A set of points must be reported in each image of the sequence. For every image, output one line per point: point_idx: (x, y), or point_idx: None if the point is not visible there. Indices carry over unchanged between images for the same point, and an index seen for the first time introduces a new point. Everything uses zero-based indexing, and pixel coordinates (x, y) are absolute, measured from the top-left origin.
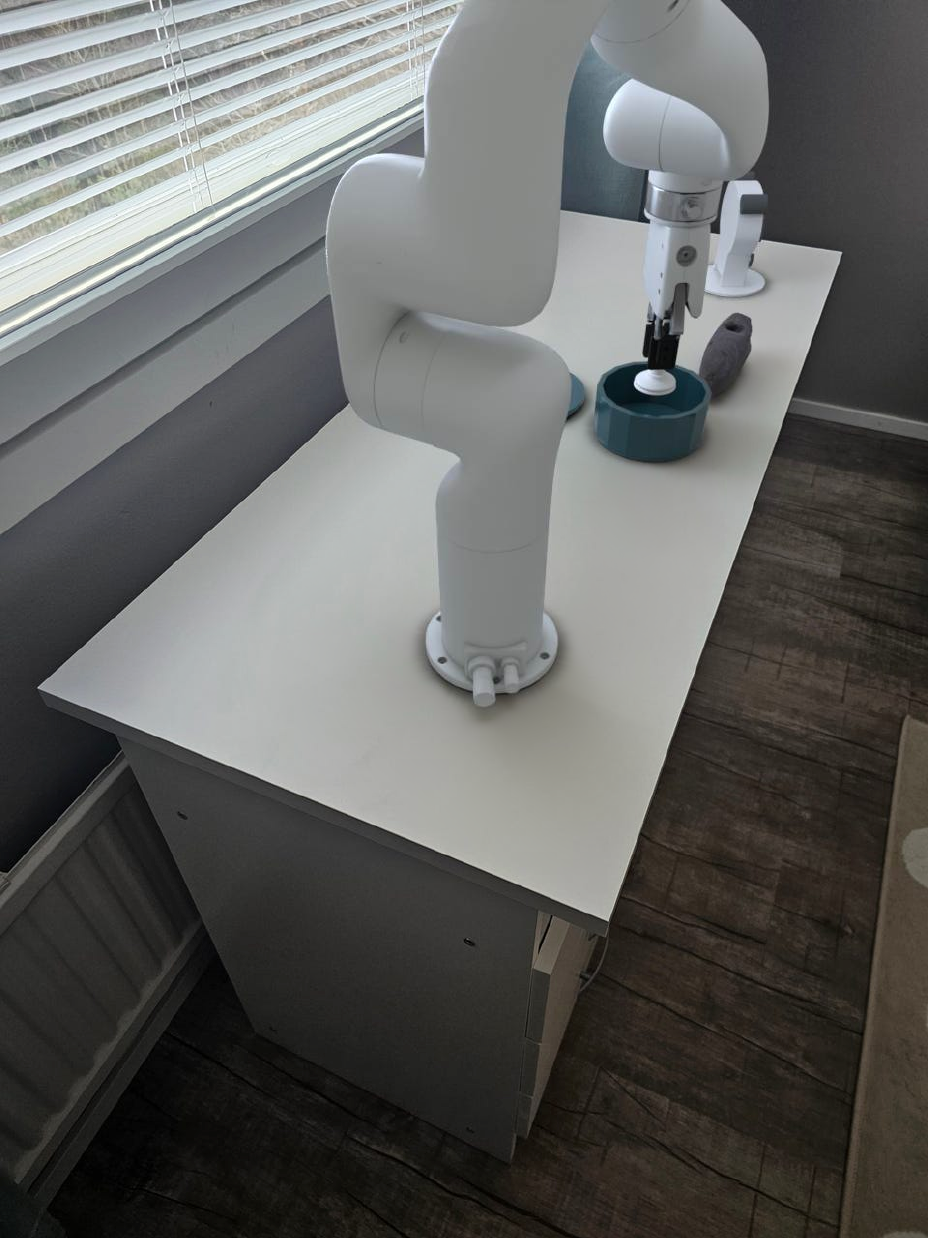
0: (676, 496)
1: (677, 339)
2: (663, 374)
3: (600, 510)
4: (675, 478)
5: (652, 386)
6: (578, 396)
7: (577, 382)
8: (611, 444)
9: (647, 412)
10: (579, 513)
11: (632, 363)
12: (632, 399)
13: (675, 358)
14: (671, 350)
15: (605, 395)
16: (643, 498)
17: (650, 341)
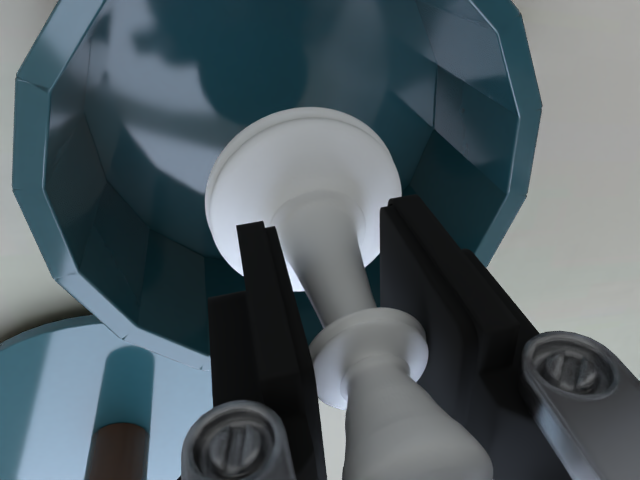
0: (615, 47)
1: (571, 343)
2: (347, 206)
3: (607, 233)
4: (535, 41)
5: None
6: None
7: (36, 347)
8: None
9: (164, 118)
10: (602, 271)
11: (72, 280)
12: (102, 178)
13: (438, 227)
14: (510, 306)
15: None
16: (596, 139)
17: None
